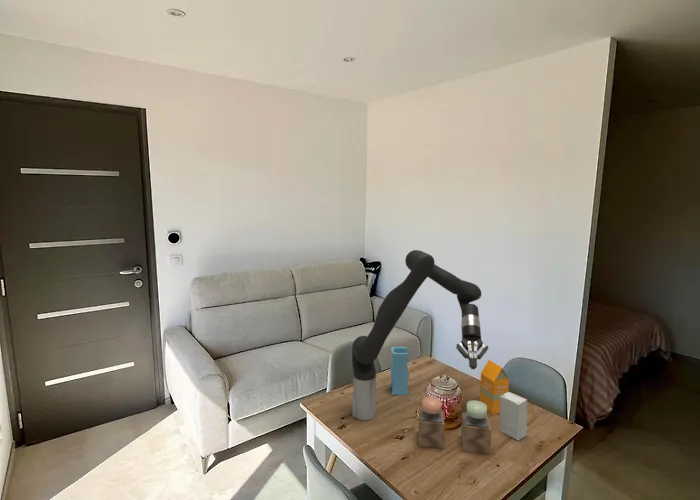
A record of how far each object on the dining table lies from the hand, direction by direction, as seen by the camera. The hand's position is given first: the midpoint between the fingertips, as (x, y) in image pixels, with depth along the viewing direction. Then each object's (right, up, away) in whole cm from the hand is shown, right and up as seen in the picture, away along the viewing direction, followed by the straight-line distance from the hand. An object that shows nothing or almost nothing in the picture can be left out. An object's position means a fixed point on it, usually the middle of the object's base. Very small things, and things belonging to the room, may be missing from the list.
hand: (473, 368), depth 150 cm
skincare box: (+14, -25, -2) cm, 28 cm away
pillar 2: (-2, -25, -9) cm, 27 cm away
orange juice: (+14, -22, +16) cm, 31 cm away
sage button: (-2, -13, -11) cm, 17 cm away
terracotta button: (-18, -13, -8) cm, 23 cm away
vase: (-25, -20, +30) cm, 44 cm away
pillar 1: (-18, -25, -6) cm, 31 cm away
